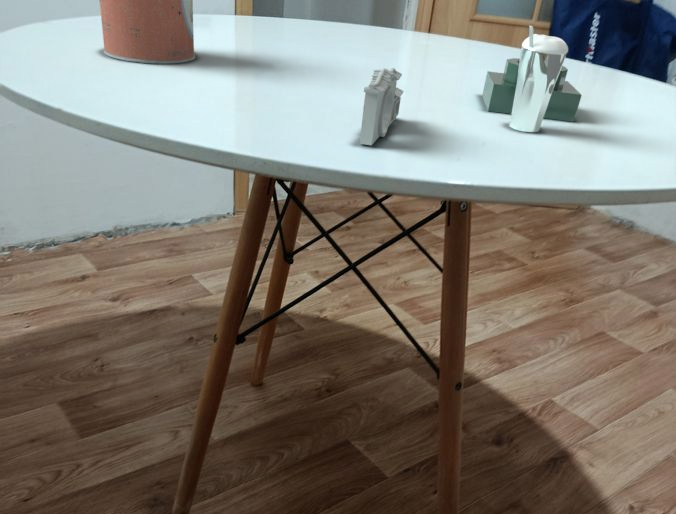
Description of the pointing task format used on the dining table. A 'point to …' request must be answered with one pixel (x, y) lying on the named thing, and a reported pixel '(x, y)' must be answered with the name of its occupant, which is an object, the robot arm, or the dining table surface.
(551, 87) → the milkshake
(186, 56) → the canned food
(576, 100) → the dispenser
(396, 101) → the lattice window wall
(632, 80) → the dining table surface
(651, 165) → the dining table surface
